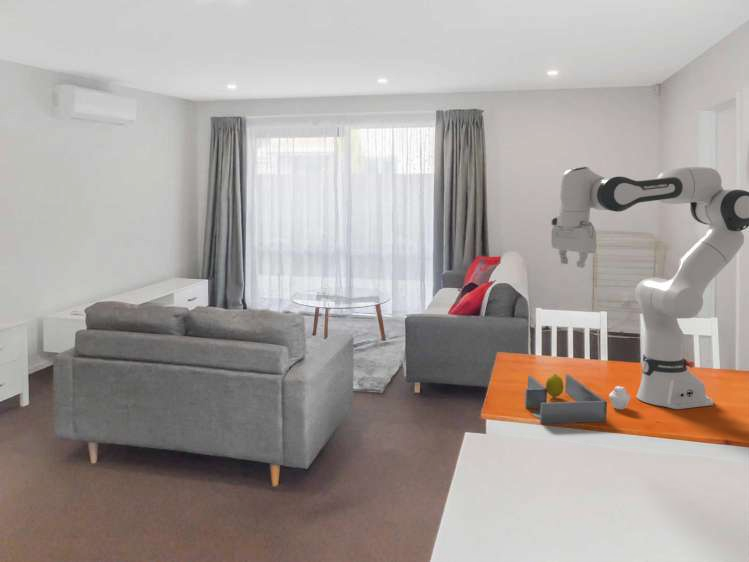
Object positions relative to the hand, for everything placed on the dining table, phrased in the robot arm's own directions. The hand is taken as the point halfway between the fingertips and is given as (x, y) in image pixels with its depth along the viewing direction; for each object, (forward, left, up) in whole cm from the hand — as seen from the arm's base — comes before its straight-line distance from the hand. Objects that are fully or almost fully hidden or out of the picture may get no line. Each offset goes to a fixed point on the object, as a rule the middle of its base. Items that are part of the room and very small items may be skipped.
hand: (572, 265), depth 189 cm
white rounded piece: (-14, +7, -44) cm, 47 cm away
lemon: (+2, -4, -44) cm, 44 cm away
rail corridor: (+5, +4, -44) cm, 44 cm away
